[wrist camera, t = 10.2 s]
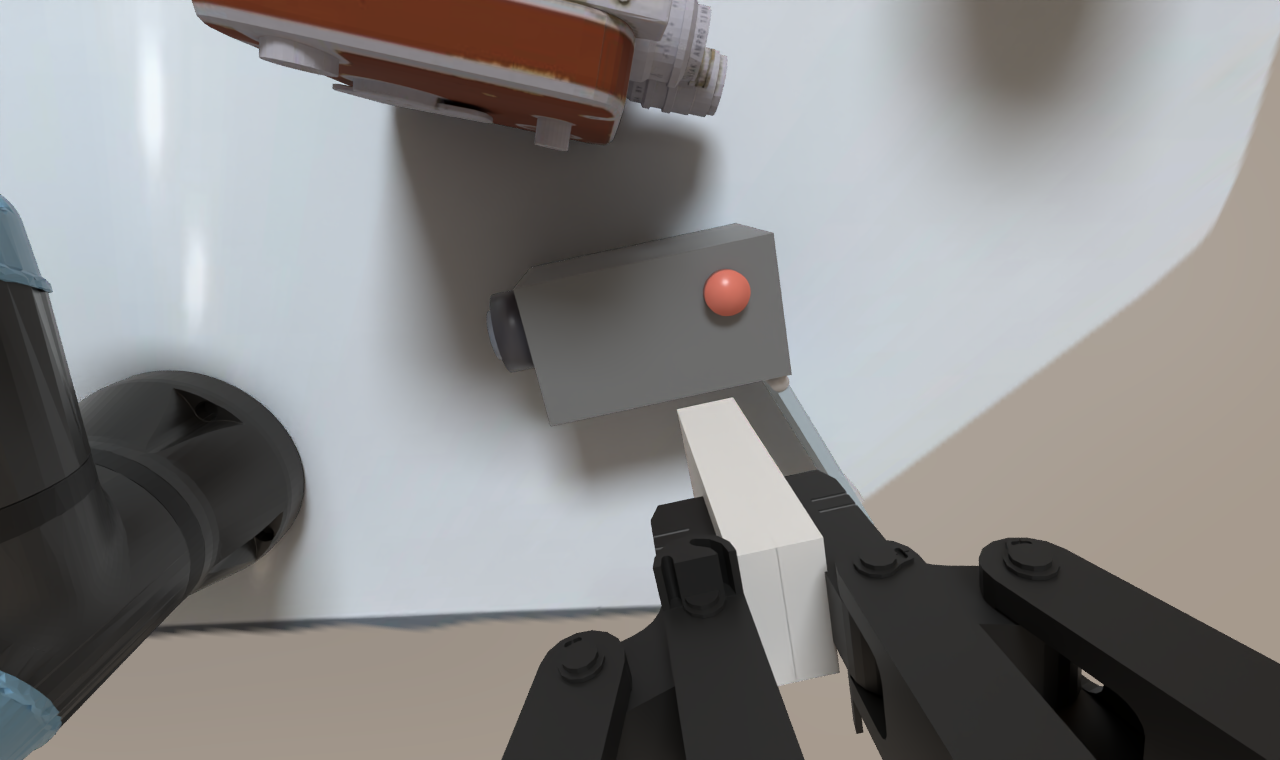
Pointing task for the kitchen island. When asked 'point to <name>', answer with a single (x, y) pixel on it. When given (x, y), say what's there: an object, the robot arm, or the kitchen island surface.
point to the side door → (809, 435)
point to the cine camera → (495, 56)
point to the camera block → (646, 322)
